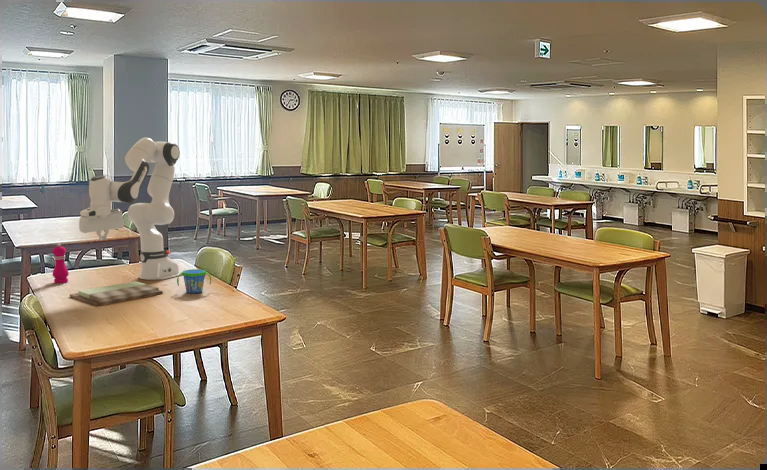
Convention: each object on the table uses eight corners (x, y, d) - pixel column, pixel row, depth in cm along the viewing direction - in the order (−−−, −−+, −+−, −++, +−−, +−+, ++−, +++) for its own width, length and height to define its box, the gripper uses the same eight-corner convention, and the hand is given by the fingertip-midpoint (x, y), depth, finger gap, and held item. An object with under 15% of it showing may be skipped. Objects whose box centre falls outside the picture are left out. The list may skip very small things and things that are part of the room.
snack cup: (212, 289, 317) (212, 268, 316) (210, 294, 307) (209, 273, 306) (179, 289, 315) (178, 269, 314) (175, 295, 305) (174, 273, 304)
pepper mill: (72, 281, 332) (69, 242, 329) (63, 284, 325) (61, 244, 322) (58, 280, 333) (56, 241, 330) (50, 283, 326) (47, 244, 323)
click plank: (136, 285, 319) (135, 281, 318) (146, 288, 312) (146, 284, 312) (78, 294, 297) (78, 290, 297) (89, 298, 291) (88, 294, 291)
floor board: (135, 285, 323) (134, 279, 323) (162, 293, 307) (162, 287, 307) (69, 296, 299) (69, 290, 299) (96, 306, 283) (95, 298, 283)
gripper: (118, 207, 316) (120, 236, 318) (76, 212, 300) (78, 242, 302) (125, 209, 312) (127, 237, 314) (83, 213, 296) (85, 243, 298)
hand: (103, 239), depth 308 cm, fingers closed
